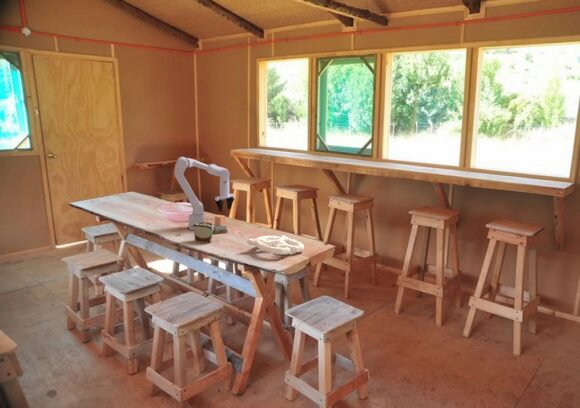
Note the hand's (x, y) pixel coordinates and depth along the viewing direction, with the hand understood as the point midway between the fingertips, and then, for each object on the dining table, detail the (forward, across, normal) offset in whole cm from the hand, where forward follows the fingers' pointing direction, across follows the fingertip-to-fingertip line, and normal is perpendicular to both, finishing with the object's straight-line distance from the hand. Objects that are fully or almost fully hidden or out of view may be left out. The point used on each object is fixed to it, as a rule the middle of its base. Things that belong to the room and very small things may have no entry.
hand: (224, 210), depth 269 cm
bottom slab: (+11, -10, -6) cm, 16 cm away
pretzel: (+11, -15, -52) cm, 55 cm away
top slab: (+8, -10, -5) cm, 14 cm away
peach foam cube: (+6, -10, -6) cm, 13 cm away
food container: (+11, -27, -11) cm, 31 cm away
